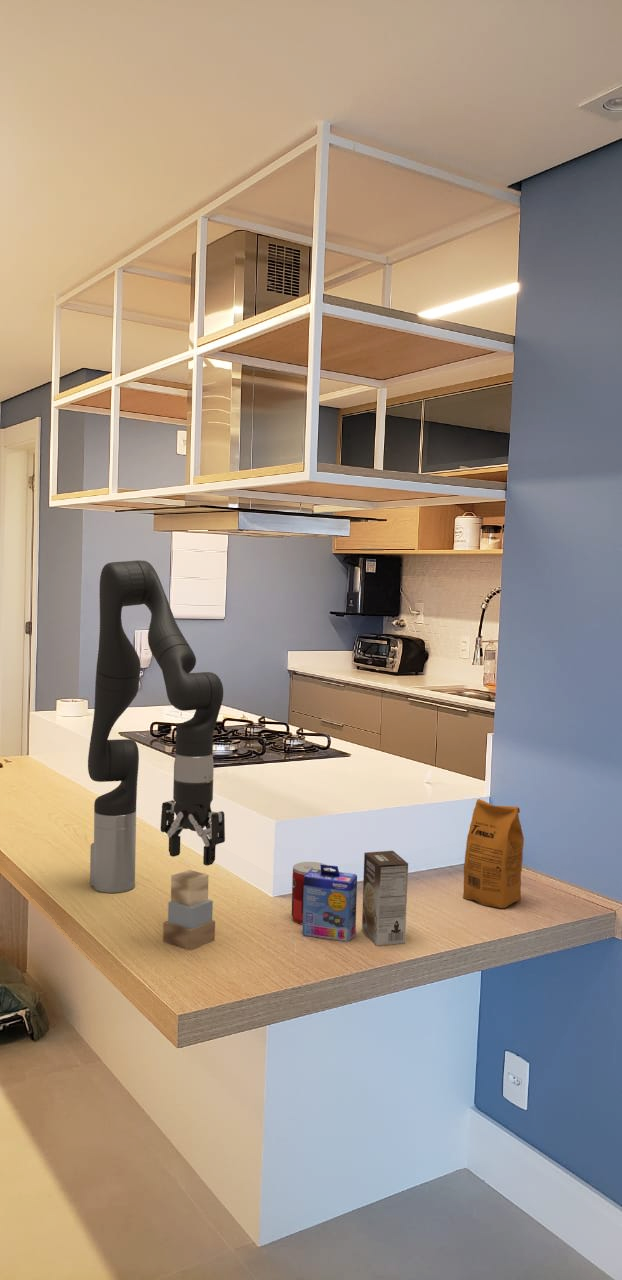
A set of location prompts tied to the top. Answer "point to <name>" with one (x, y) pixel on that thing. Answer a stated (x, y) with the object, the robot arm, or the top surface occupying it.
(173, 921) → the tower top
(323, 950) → the top surface
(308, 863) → the canned food
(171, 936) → the tower base
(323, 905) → the ink cartridge box
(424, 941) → the top surface
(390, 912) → the coffee box
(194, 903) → the oak cube
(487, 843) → the coffee package
